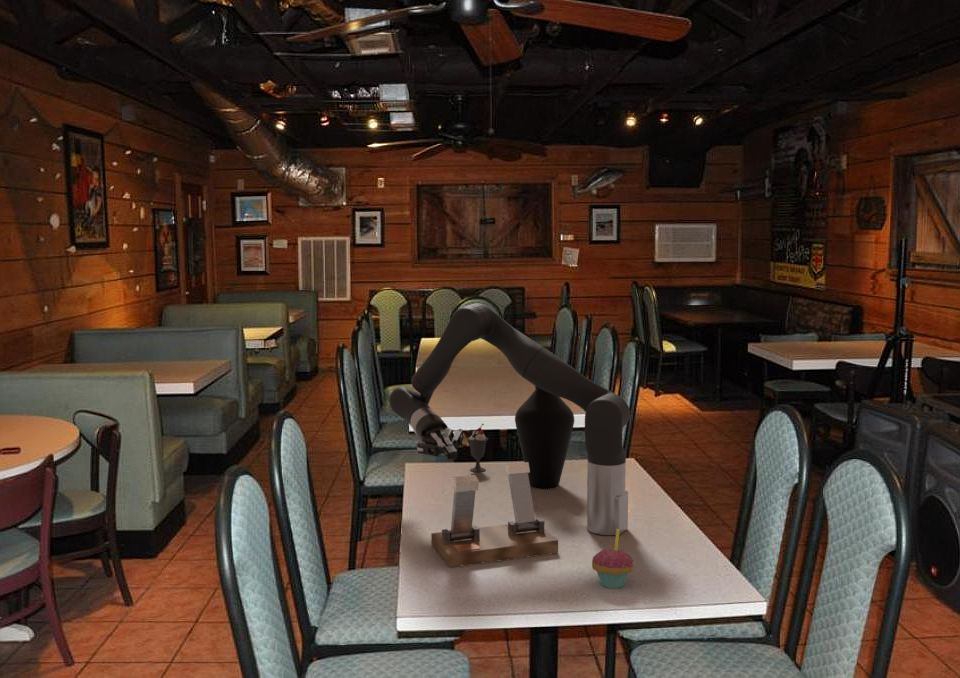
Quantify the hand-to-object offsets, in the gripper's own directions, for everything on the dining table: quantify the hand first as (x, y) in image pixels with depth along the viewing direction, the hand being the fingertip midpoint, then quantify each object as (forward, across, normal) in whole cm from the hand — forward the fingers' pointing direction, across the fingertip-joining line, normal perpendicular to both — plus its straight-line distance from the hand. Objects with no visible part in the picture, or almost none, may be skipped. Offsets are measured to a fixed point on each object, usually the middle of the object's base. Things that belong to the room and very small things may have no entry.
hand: (453, 456), depth 200 cm
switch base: (+17, -1, -16) cm, 24 cm away
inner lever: (+18, -9, -15) cm, 25 cm away
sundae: (-44, -20, -36) cm, 60 cm away
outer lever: (+16, +6, -11) cm, 20 cm away
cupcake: (+45, -16, -14) cm, 49 cm away
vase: (-22, -32, -34) cm, 51 cm away
